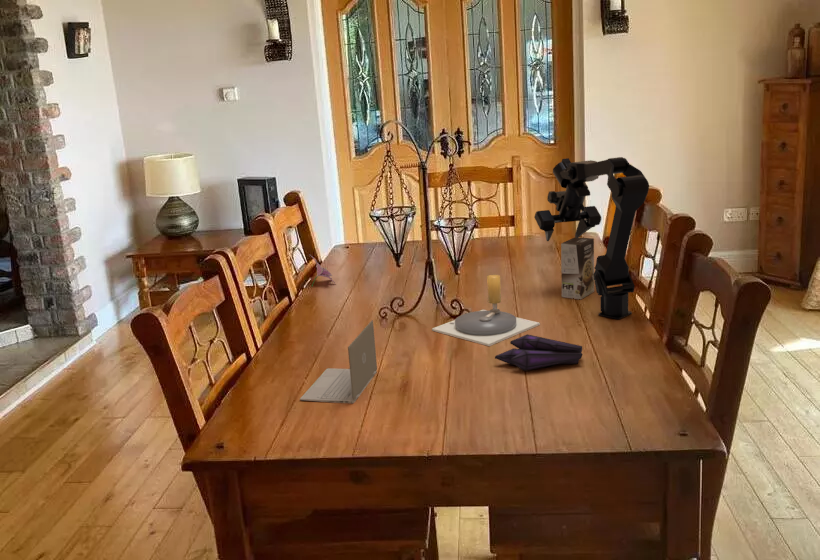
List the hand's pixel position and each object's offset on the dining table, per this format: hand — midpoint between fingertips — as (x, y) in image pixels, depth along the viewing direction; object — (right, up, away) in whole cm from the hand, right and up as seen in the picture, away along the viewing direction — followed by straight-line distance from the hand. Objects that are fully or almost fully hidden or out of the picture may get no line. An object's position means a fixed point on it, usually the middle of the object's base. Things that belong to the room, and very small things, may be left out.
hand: (561, 238), depth 245 cm
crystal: (-15, -32, -55) cm, 65 cm away
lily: (-73, -14, +25) cm, 79 cm away
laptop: (-61, -36, -60) cm, 93 cm away
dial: (-25, -25, -28) cm, 45 cm away
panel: (-25, -25, -28) cm, 45 cm away
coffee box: (+4, -17, -5) cm, 18 cm away
